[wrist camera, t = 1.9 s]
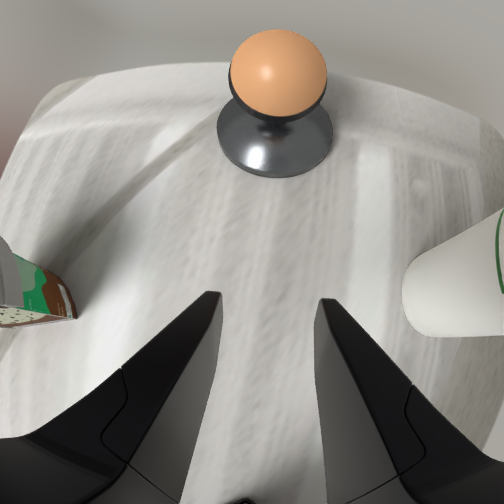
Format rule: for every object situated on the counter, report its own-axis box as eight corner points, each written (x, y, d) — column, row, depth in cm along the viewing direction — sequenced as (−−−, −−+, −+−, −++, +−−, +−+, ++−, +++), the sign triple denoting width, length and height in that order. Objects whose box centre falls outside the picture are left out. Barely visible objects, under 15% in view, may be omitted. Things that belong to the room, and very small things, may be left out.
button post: (333, 183, 22) (363, 120, 14) (210, 175, 23) (190, 109, 15) (326, 97, 25) (341, 34, 17) (225, 91, 25) (217, 27, 17)
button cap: (320, 133, 18) (336, 72, 12) (231, 127, 18) (222, 64, 13) (315, 81, 19) (326, 25, 14) (239, 76, 19) (234, 19, 14)
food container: (85, 244, 22) (6, 199, 12) (90, 316, 20) (0, 302, 10) (2, 271, 21) (-66, 246, 12) (5, 329, 20) (-69, 319, 10)
